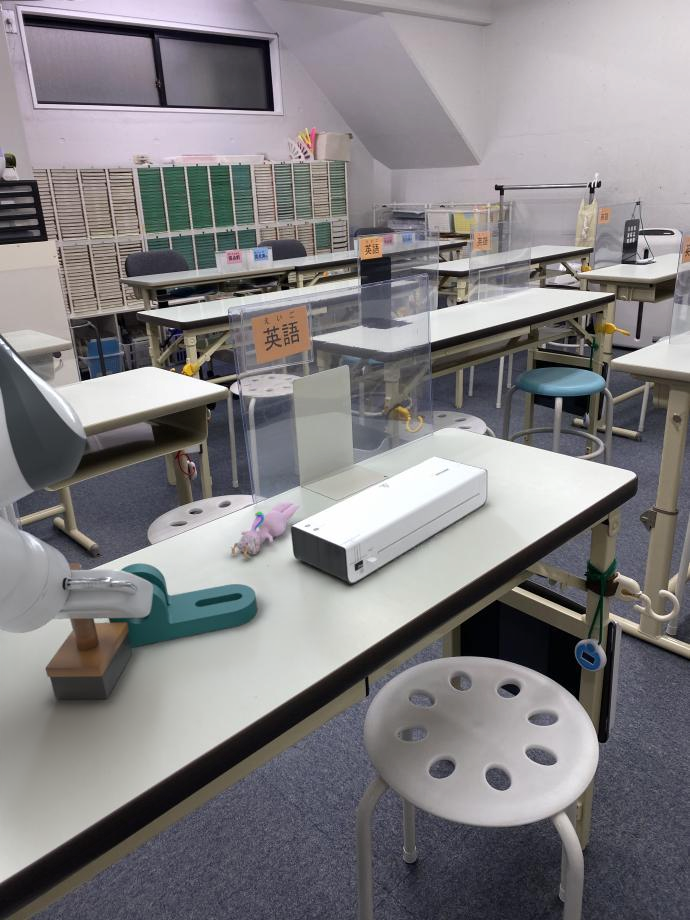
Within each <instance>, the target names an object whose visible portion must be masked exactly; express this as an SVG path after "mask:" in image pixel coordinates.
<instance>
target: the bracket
mask: <svg viewBox="0 0 690 920" xmlns="http://www.w3.org/2000/svg"><path fill="white" fill-rule="evenodd" d="M120 571H125V572H128V573H131V574H134V575H136V576H138V577H140V578H143V579H145V580H147V581H148V582H150V583H151V584H152V586H153V598H152V606H151V611H150V613H149V615H147V616H145V617H142V618H108V620H109V623H124V622H127V624H128V629H129V631H128V636H129V641H130V646H131V648H135V647H140V646H146V645H150V644H154V643H155V644H156V643H161V642H166V641H170V640H175V639H181V638H185V637H191V636H195V635H201V634H205V633H209V632H215V631H220V630H224V629H225V630H226V629H230V628H235V627H239V626H242V625H244V624H247V623H249V622H250V621H251V620H252V619H254V617H255V616H256V615H257V614H258V613H257V612H258V603H257V597H256V595H257V594H256V591H255V590H254V588H252V586H249V585H246V584H241V583H233V584H232V583H231V584H225V585H220V586H214V587H209V588H204V589H199V590H194V591H188V592H183V593H177V594H172V595H170V594H169V592H168V587H167V582H166V578H165V576H164V574H163V573H162V572H161V570H159V569H158V568H157V567H155V566H153V565H151V564H148V563H141V562H139V563H132V564H129V565H127V566H124V567H123V568H122V569H120Z"/></svg>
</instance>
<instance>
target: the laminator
mask: <svg viewBox="0 0 690 920" xmlns="http://www.w3.org/2000/svg"><path fill="white" fill-rule="evenodd" d="M487 499H488V470H487V469H486V468H481V467H478V466H474V465H470V464H466V463H462V462H459V461H455V460H451V459H447V458H443V457H440V456H436V455H435V456H433V457H431V458H429V459H427V460H424V461H423V462H420V463H419V464H417V465H415V466H413V467H410V468H408V469H406V470H403V471H402V472H400V473H398V474H396V475H394V476H392V477H390V478H388V479H386V480H383V481H382V482H379V483H378V484H375V485H373V486H371V487H369V488H367V489H366V490H363V491H361V492H358V493H357V494H355V495H353V496H350V497H349V498H347V499H345V500H343V501H341V502H338V503H336V504H335V505H332V506H330V507H329V508H326V509H324V510H321V511H320V512H318V513H316V514H314V515H311V516H309V517H308V518H306V519H304V520H302V521H299V522H298V523H296V524H293V525H291V526H290V534H291V535H290V537H291V542H292V543H291V544H292V545H291V546H292V553H293V554H292V555H293V556H294V558H295V559H296V560H299V561H302V562H305V563H306V564H309V565H311V566H313V567H314V568H316V569H319V570H322V571H323V572H325V573H327V574H330V575H332V576H335V577H336V578H338V579H340V580H342V581H345V582H347V583H348V584H349V585H354V584H357V583H359V582H361V580H363V579H365V578H367V577H368V576H370V575H372V574H374V573H375V572H377V571H378V570H380V569H382V568H383V567H385V566H387V565H388V564H390V563H391V562H393V561H395V560H397V559H398V558H399V557H401V556H403V555H405V554H406V553H408V552H409V551H411V550H413V549H414V548H416V547H418V546H419V545H422V544H423V543H425V542H427V541H428V540H429V539H431V538H432V537H435V536H436V535H438V534H439V533H441V532H443V531H444V530H446V529H447V528H449V527H450V526H453V525H454V524H456V523H457V522H459V521H461V520H462V519H464V518H465V517H467V516H469V515H471V514H472V513H475V511H477V510H479V509H481V508H482V507H484V505H485V504H486V503H487V502H486V501H487Z"/></svg>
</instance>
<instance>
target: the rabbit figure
mask: <svg viewBox="0 0 690 920" xmlns="http://www.w3.org/2000/svg"><path fill="white" fill-rule="evenodd" d="M300 506H301V505H300V504H294V505H293V503H292V502H280V503H278V504H276V505H275V506H273V508H272V509H271V510H270V511H267V512H266V513H265V514H264V513H263V511H257V512H255V514H254V516H255V518H254V520H253V522H252V525H251V528H250V530H244V531H242V532H241V533H240V534H241V535H242V536H241V538H240V540H238V542H234V544H233V547H232V546H231V547H230V548H231V554H230V555H231V556H232V555H233V556H237V554H236V552H235V549H236V548H237V549H238V550H239V551H240V552H242V553H243V556H242V558H243V559H244V558H245V560H246V562H247V560H248V559H249V557H248V554H249V555H256V554H257V553H258V552H259V550H260V548H261V544H262V543H264V542H265V541H266V539H268V541H269V543H273V542H274V539H273V538H276V537H279V536H281V535H282V534H283V533H284V532H285V530H286V526H287V523H288V521H289V520H290V519H291V518H292V517H293V516H294V514H295V513H296V511H297V510H298V508H299V507H300ZM257 528H258V529H257ZM247 553H248V554H247Z"/></svg>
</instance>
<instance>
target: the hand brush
mask: <svg viewBox="0 0 690 920" xmlns="http://www.w3.org/2000/svg"><path fill="white" fill-rule="evenodd" d="M68 564H69V567H70V570H83V567H82V564H80V563H78V562H71V563H68ZM69 621H70V625H71V628H72V630H71V632H70V633H69V635H68V636H67V638H66V639H64V641H63V643H62V644H61V646H60V647H59V648H58V650H57V651H56V653H55V654H54V656H53V657H51V659H50V661H49V662H48V664H47V665H46V666H45V668H44V669H45V672H46V676H47V677H48V678H49V680H50V683H51V687H52V690H53V694H54V698H55V700H59V699H60V700H66V699H67V700H68V699H69V700H70V699H71V700H73V699H74V700H77V699H78V700H80V699H82V700H83V699H85V700H86V699H89V700H90V699H92V700H93V699H108V698H109V697H110V694H111V692H112V690H113V688H114V687H115V685H116V683H117V682H118V679H119V678H120V676H121V674H122V673H123V671H124V669H125V667H126V665H127V664H128V662H129V660H130V659H131V657H132V655H133V651H132V647H131V646H130V641H129V636H128V631H129V629H128V624H127V622H124V623H110V622H95V618H89V619H69Z"/></svg>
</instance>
